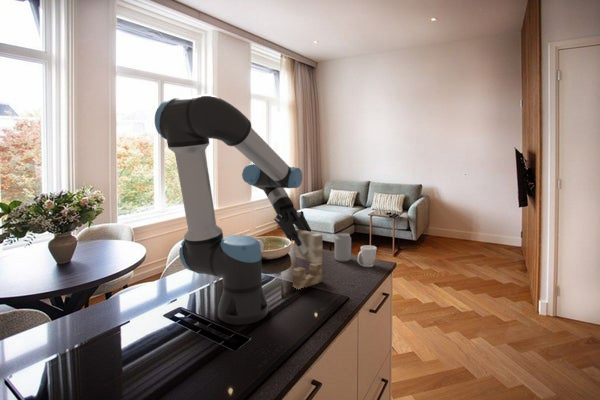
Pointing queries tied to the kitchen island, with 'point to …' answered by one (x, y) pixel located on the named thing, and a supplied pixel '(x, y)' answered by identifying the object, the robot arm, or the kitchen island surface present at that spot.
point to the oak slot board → (307, 276)
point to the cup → (367, 255)
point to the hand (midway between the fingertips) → (309, 251)
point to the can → (342, 247)
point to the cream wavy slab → (310, 246)
